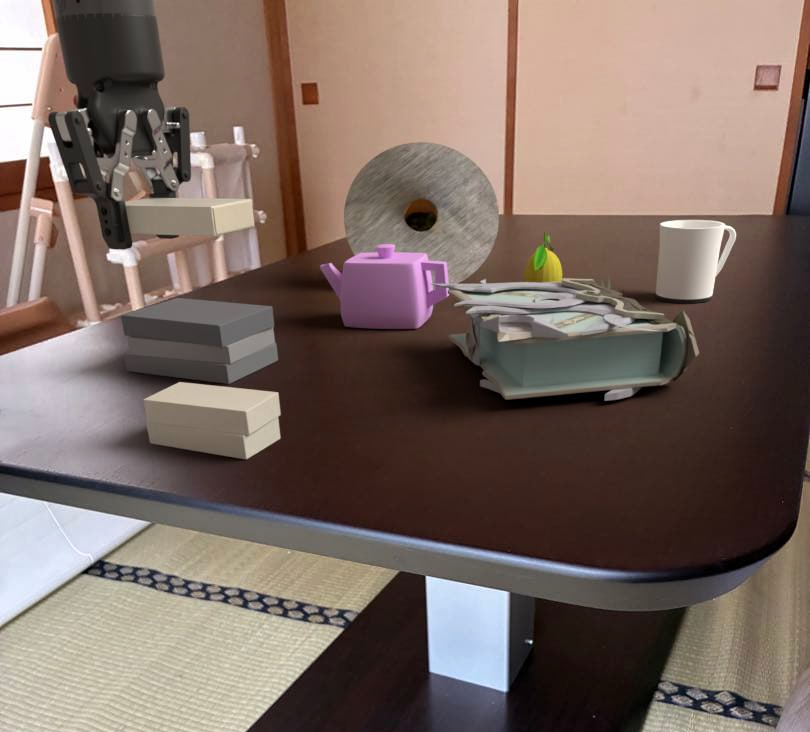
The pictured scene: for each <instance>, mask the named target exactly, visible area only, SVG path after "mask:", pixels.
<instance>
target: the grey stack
mask: <svg viewBox="0 0 810 732" xmlns="http://www.w3.org/2000/svg"><path fill="white" fill-rule="evenodd" d="M274 318H275V317H274V308H273V306H272V305H261V304H251V303H250V304H249V303H240V302H230V301H229V302H228V301H218V300H217V301H216V300H206V299H195V298H194V299H193V298H181V297H175V298H172V299H169V300H166V301H163V302H159V303H156V304H152V305H149V306H146V307H143V308H139V309H135V310H132V311H130V312H127V313H123V314H120V319H121V324H122V325H121V326H122V329H123V336H125V337H126V336H128V337H126V340H127V346H128V350H129V351H126V352H124V353H123V357H124V362H125V369H126V372H128V373H129V372H131V373H138V374H147V375H155V376H161V377H170V378H177V379H184V380H193V381H202V382H209V383H217V384H225V385H230V384H232V383H235V382H236V381H239V380H241V379H242V378H244V377H247V376H249V375H252V374H254V373H255V372H257V371H259V370H262V369H263V368H265V367H267V366H269V365H272V364H274V363H276V362H278V361H279V355H278V353H279V352H278V346H277V345H278V344H277V342H276V339H275V331H274V327H275V319H274Z"/></svg>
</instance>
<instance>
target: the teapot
mask: <svg viewBox="0 0 810 732" xmlns="http://www.w3.org/2000/svg"><path fill="white" fill-rule="evenodd" d="M376 250H377V252H368V253H360V254H358V255H356V256H355V255H354V256H351V257H350V258H349V259H347V260H346V261H344V262H343V266H342V272H340V271H339V270H338V269H337V268H336V266H334V264H333V263H332V262H329V263H328V262H327V263H324V264H321V265H319V269H320V271H321V272H322V274H323V275H324V277H325V279H326V280H327V281H328V283H329V285H330V286H331V288H332V290H333V291H334V293H335V295H336V296H337V298H338V299H339V302H340V317H341V319H342V322H343V325H344V327H346V328H354V329H355V328H356V329H372V330H373V329H374V330H376V329H377V330H414V329H419V328H420V327H422V326H423V325H424V324H425V323H426V322H427V321H428V320H429V319H430V318H431V316H432V313H433V309H434V305H435V304H438V303H439V302H441V301H443V300H444V299H447V298H448V297H449V296H450V295H449V294H448V290H450V289H449V288H444V287H439V286H435V289H434V290H433V285H431V284H432V277H431V271H430V270H435V284H449V281H448V270H447V262H443V261H429V260H428V257H427V254H426V253H407V252H394V250H395V245H393V244H381V245H377V246H376Z"/></svg>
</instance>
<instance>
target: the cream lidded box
mask: <svg viewBox="0 0 810 732" xmlns="http://www.w3.org/2000/svg"><path fill="white" fill-rule="evenodd" d="M142 401H143V405H144V412H145V416H146V421H145V424H146V429H147V435H148V440H149V444H152V445H157V446H164V447H170V448H174V449H175V448H176V449H181V450H188V451H193V452H198V453H199V452H200V453H205V454H212V455H217V456H223V457H229V458H230V457H231V458H235V459H240V460H248V459H250V458H251V457H253V456H255V455H256V454H258V453H260V452H261V451H263V450H264V449H266V448H268V447H270V446H271V445H273V444H274V443H276V442H277V441H279V440H281V438H282V437H281V428H280V419H279V417H280V416H281V415H282V414H281V413H282V412H281V404H280V403H281V402H280V395H279V392H277V391H268V390H259V389H249V388H241V387H230V386H223V385H221V386H220V385H211V384H203V383H202V384H201V383H193V382H185V381H183V382H182V381H178V382H176V383H175V384H173V385H170V386H169V387H167V388H164V389H162V390H160V391H158V392H155V393H154V394H151V395H150V396H148V397H145V398H143V400H142Z"/></svg>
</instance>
